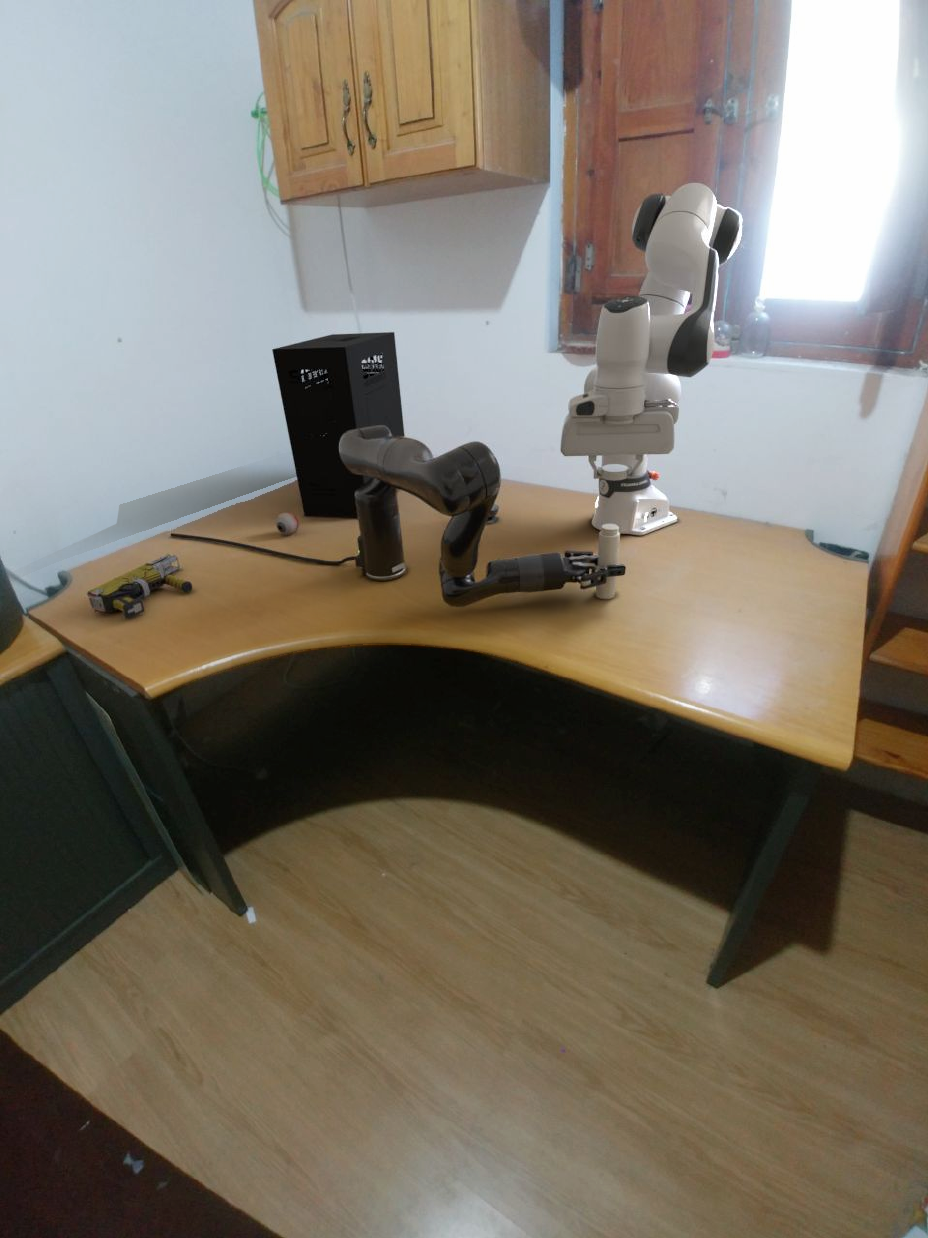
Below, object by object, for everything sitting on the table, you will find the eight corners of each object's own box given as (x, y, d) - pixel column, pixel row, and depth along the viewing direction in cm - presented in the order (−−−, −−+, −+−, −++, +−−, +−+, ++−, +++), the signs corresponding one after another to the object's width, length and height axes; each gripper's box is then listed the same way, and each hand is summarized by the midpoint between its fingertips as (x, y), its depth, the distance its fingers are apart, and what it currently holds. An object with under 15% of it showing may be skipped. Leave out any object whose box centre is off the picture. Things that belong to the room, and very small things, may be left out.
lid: (608, 470, 116) (608, 462, 116) (632, 474, 114) (632, 466, 113) (596, 478, 113) (596, 469, 112) (620, 482, 110) (621, 473, 110)
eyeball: (273, 537, 164) (268, 516, 161) (287, 528, 169) (282, 508, 166) (291, 539, 161) (286, 518, 158) (305, 530, 166) (301, 510, 163)
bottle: (612, 600, 124) (617, 531, 116) (593, 597, 125) (597, 528, 118) (617, 591, 127) (622, 523, 119) (598, 589, 128) (602, 521, 121)
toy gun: (216, 562, 143) (165, 551, 147) (137, 606, 123) (80, 592, 127) (219, 580, 145) (169, 569, 149) (142, 626, 125) (86, 611, 129)
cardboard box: (368, 517, 173) (345, 346, 150) (304, 515, 177) (272, 349, 155) (408, 478, 204) (394, 331, 182) (353, 477, 209) (332, 334, 186)
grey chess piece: (497, 523, 164) (496, 480, 158) (476, 523, 165) (474, 480, 159) (501, 516, 168) (500, 473, 162) (480, 515, 170) (478, 473, 164)
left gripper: (547, 571, 114) (635, 562, 115) (530, 542, 126) (610, 534, 127) (546, 605, 117) (631, 597, 119) (530, 574, 130) (608, 566, 131)
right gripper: (677, 395, 108) (668, 471, 115) (561, 399, 111) (560, 473, 118) (683, 402, 102) (673, 482, 109) (561, 406, 105) (559, 483, 112)
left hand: (620, 564), depth 123 cm, fingers closed on bottle, 4 cm apart
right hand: (613, 477), depth 114 cm, fingers closed on lid, 5 cm apart
